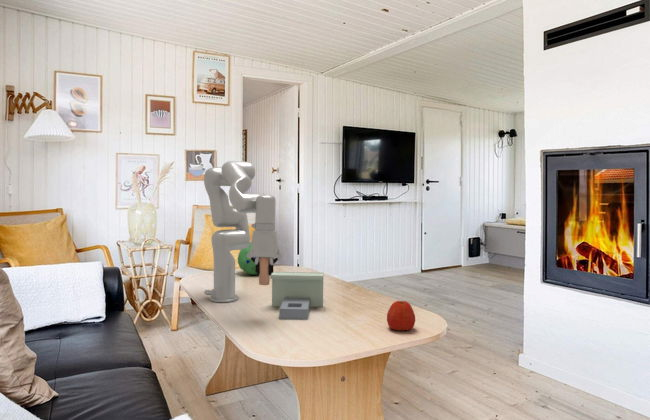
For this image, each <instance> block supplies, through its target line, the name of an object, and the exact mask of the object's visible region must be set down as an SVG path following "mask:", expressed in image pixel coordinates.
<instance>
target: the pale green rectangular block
mask: <svg viewBox="0 0 650 420" xmlns="http://www.w3.org/2000/svg"><path fill="white" fill-rule="evenodd" d="M270 280H271V307H280V306H281V304H282V302H283V300H284V298H285V297H286V298H310V308H315V307H316V308H323V307H324V272H304V271H303V272H298V271H297V272H295V271H293V272H291V271H273V273H272V274H271V275H270Z"/></svg>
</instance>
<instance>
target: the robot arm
mask: <svg viewBox="0 0 650 420" xmlns="http://www.w3.org/2000/svg"><path fill="white" fill-rule="evenodd" d="M203 174H204V175H203V185H204V188H205V190H206V193H207V196H208V199H209V206H210V212H211V213H210V214H211V221H212V223H213V225H214V226H215V227H217V228H235V229H219V230H216V231H214V232H213V234H212V235H211V246H212V247H211V248H212V253H213V288H212V289H211V290H210V289H205V290H204V295H205V296H208V295H209V296H210V298H209V299H210V301H211V302H213V303H231V302H235V301H238V300H239V298H240V296H239V295H238V294H236V259H235V257H234V255H233V254H232V253H231V251H238V250H239V251H240V250H242V249H246V248H248V247H249V245H250V242H251V250H250V251H249V252H248V254H247V257H248V258H249V259H251V260H252V261H253V262H254V263H255V265H256V271H255V272H257V275H256V276H259V257H265V258H269V259H270V265H269V275H271V274H272V273H273V272H274V264H276V263H277V262H278V261H280V260H281V259H283V257H284V255H283V254H282V252H281V251H280V249H279V239H278V232H277V230H276V205H277V204H276V201H277V200H276V197H275V196H274V195H271V194H265V193H246V192H248V191H249V190H250V188H251V186H252V180H253V179H255V176H256V169H255V166H254V164H252V163H251V162H250V161H241V160H240V161H238V160H230V161H229V160H228V161H226V162H224V163H223V164H222V166H214V167H209V168H207V169H206V170H205V172H204V173H203ZM222 187H230V188H229V190H228V194H227V192H226V191H225V190H224V189H223V188H222ZM230 204H231V205H230ZM251 213H253V214H255V218H254V219H255V222H254V223H251V228H253V229H254V230H253V231H252V234H251V233H250V227H249V220H248V214H251ZM255 257H256V258H255Z"/></svg>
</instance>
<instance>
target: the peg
mask: <svg viewBox="0 0 650 420" xmlns="http://www.w3.org/2000/svg"><path fill="white" fill-rule="evenodd" d="M269 265H270V259H269V258H265V257H259V275H258V285H260V286H269V285H270V280H271V279H270V275H269Z"/></svg>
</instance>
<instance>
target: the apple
mask: <svg viewBox="0 0 650 420" xmlns="http://www.w3.org/2000/svg"><path fill="white" fill-rule="evenodd" d="M386 322H387V325H388V327H389V329H391V330H394V331H399V332H400V331H403V332H404V331H405V330H406V331H410V330H412V329H414V326H415V324H416V315H415V311H414V309H413V307H412V305H411V303H409V302H408V301H406V300H397V301H394V302H393V303H392V304H391V305H390V307H389V309H388V311H387V314H386Z"/></svg>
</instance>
